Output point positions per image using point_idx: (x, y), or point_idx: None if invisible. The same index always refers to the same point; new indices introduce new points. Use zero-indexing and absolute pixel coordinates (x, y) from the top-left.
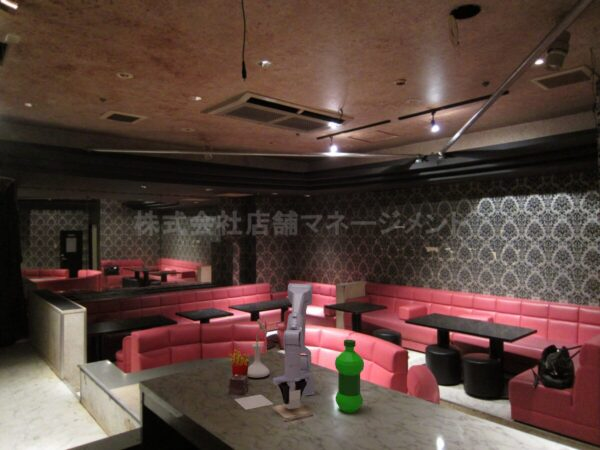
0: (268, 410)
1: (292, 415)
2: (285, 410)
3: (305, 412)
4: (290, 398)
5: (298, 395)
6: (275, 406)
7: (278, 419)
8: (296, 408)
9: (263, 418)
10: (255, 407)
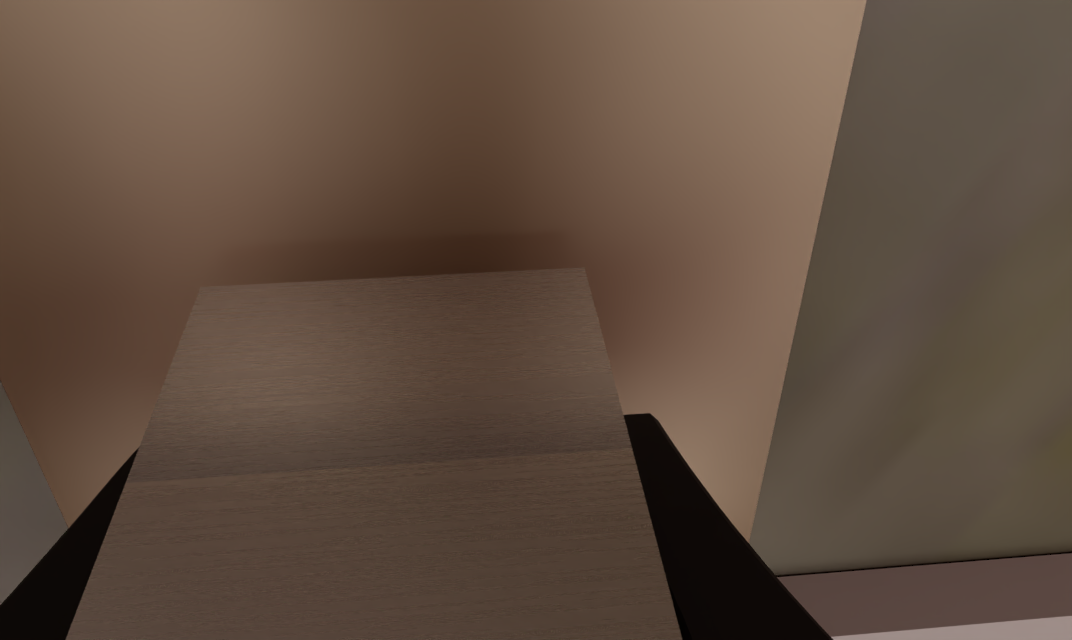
0: None
1: (592, 13)
2: None
3: (104, 33)
4: (595, 506)
5: (181, 589)
6: None
7: (838, 160)
8: None
9: (1036, 320)
10: (979, 626)
